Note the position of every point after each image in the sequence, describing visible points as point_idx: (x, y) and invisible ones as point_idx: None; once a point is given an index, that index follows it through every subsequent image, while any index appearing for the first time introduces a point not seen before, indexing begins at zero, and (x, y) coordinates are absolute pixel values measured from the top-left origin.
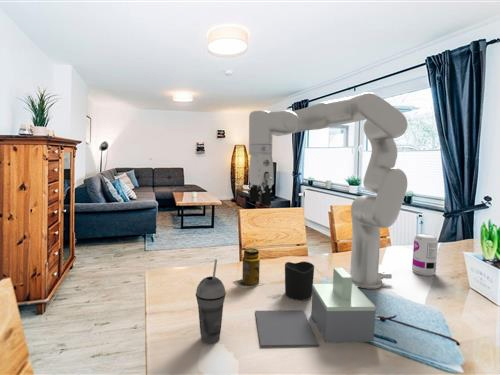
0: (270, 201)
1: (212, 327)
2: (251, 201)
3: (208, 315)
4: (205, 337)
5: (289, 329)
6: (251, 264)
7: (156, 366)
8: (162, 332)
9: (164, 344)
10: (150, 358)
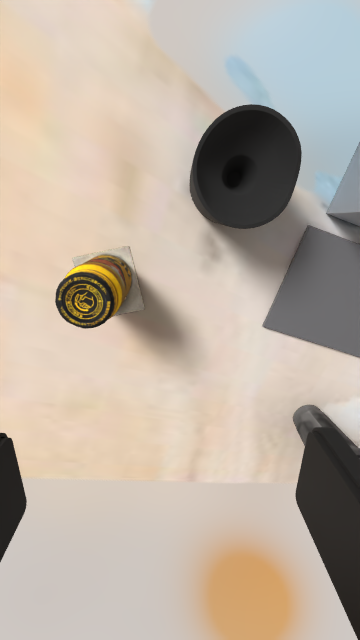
0: (353, 458)
1: None
2: (20, 494)
3: None
4: None
5: (357, 295)
6: (122, 301)
7: None
8: (257, 469)
9: (288, 469)
10: None
